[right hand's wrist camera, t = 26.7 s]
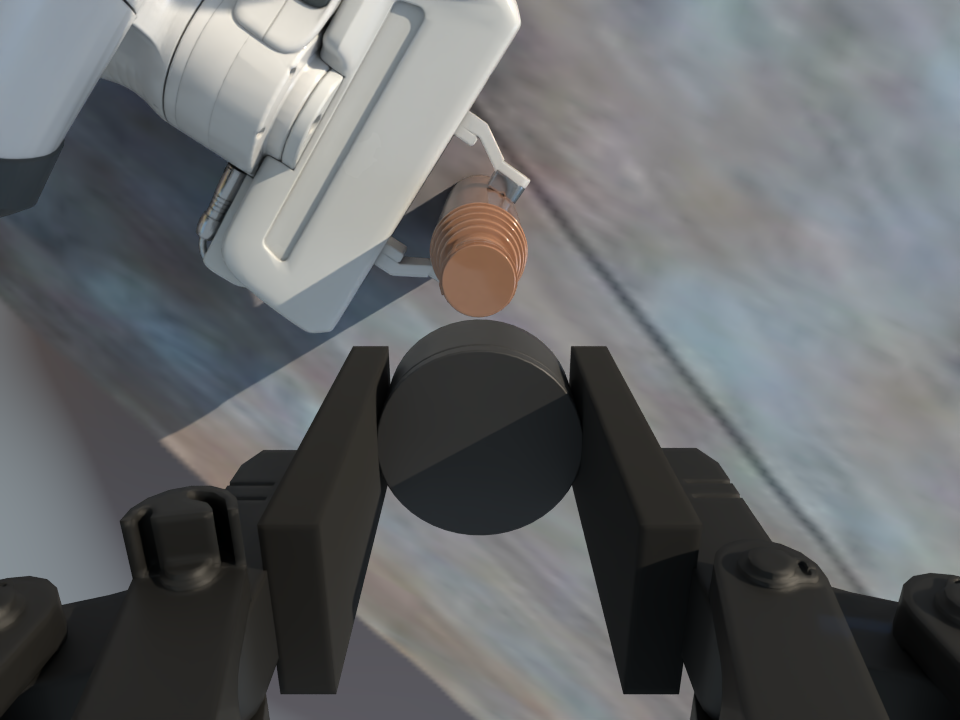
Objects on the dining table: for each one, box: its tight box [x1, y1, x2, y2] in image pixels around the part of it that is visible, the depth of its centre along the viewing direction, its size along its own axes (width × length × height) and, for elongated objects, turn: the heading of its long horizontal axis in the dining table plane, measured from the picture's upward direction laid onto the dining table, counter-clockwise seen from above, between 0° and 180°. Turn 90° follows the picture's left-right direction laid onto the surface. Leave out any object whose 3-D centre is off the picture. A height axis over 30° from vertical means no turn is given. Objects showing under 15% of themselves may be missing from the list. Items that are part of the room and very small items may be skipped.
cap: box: [377, 320, 583, 535], centre depth 14 cm, size 4×4×2 cm
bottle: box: [430, 175, 528, 317], centre depth 33 cm, size 4×4×19 cm
